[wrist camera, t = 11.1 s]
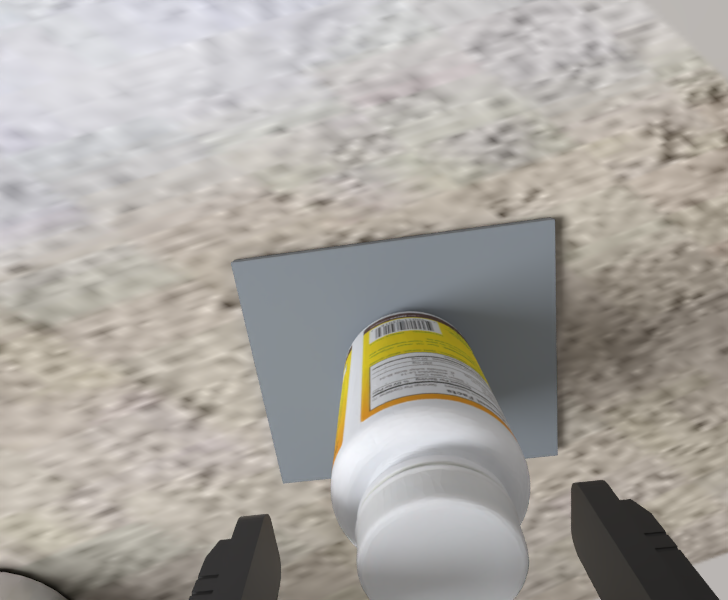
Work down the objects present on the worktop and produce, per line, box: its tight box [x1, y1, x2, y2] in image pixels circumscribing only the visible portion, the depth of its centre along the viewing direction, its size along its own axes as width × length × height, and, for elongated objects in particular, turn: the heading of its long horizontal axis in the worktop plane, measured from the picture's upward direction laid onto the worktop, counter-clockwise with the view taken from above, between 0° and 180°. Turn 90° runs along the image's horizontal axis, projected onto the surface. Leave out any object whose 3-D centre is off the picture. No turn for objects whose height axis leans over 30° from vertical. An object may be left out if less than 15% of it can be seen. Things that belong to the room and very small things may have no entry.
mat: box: [231, 218, 558, 483], centre depth 20 cm, size 13×11×1 cm
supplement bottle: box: [331, 311, 530, 600], centre depth 15 cm, size 6×6×10 cm
